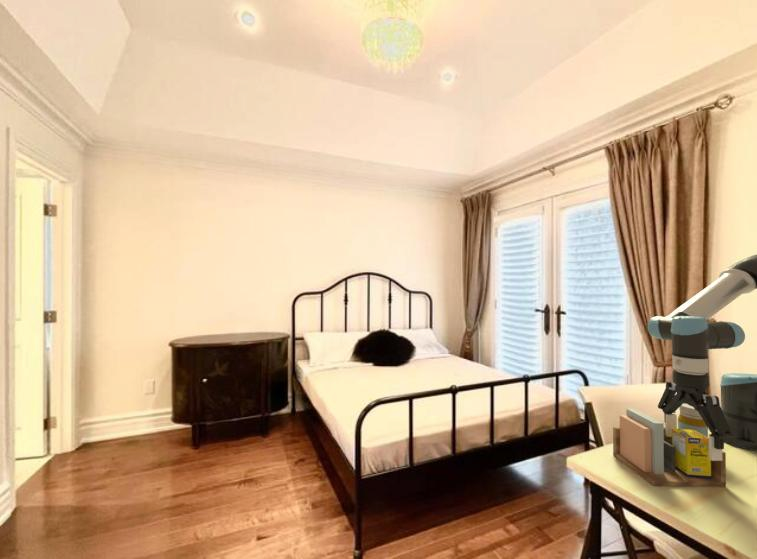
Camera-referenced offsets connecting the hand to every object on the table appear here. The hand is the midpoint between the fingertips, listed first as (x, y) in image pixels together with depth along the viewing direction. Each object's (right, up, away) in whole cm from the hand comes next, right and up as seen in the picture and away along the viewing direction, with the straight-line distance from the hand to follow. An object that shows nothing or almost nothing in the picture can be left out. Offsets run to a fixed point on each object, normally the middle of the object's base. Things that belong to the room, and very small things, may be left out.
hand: (692, 447), depth 95 cm
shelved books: (-11, -7, +5) cm, 14 cm away
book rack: (-5, -8, +3) cm, 10 cm away
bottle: (+12, -9, +13) cm, 20 cm away
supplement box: (0, -7, 0) cm, 7 cm away
